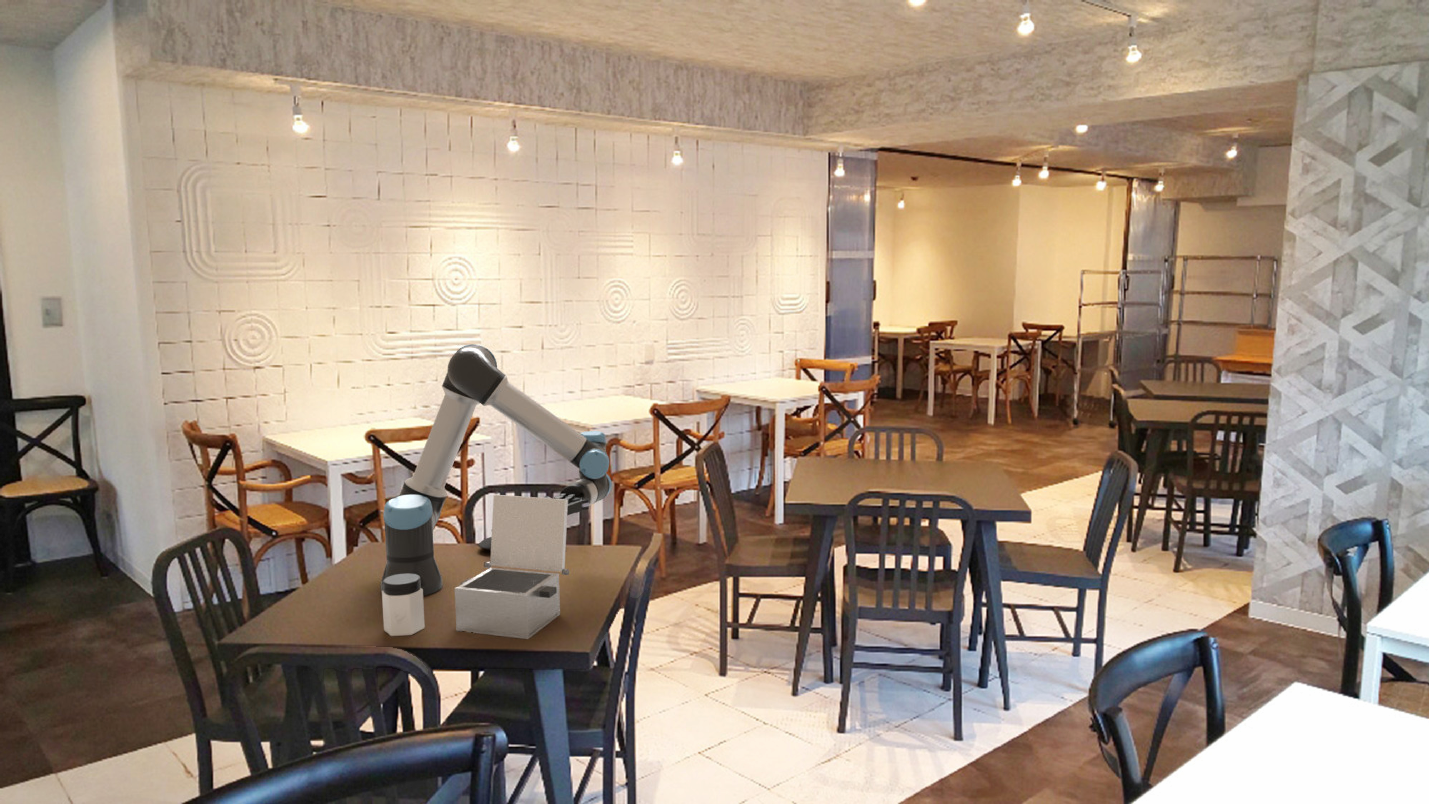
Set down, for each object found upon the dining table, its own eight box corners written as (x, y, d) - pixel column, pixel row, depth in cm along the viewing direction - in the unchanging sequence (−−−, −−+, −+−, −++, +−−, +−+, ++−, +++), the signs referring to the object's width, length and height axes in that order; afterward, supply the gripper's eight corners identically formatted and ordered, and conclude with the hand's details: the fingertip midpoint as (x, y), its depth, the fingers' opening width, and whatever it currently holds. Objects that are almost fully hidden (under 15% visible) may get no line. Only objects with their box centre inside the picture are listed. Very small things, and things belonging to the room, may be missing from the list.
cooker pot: (487, 604, 236) (485, 560, 234) (572, 613, 229) (570, 568, 228) (447, 629, 219) (445, 583, 218) (537, 640, 212) (536, 592, 211)
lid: (490, 565, 233) (496, 563, 236) (561, 572, 227) (567, 570, 230) (493, 495, 233) (499, 494, 236) (565, 499, 228) (570, 499, 231)
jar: (380, 637, 215) (377, 585, 213) (387, 624, 223) (384, 574, 221) (421, 635, 216) (419, 583, 214) (427, 622, 224) (424, 572, 222)
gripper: (601, 511, 255) (562, 535, 232) (556, 508, 259) (514, 531, 236) (600, 483, 254) (561, 504, 231) (555, 481, 258) (512, 501, 235)
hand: (537, 518), depth 234 cm, fingers closed
